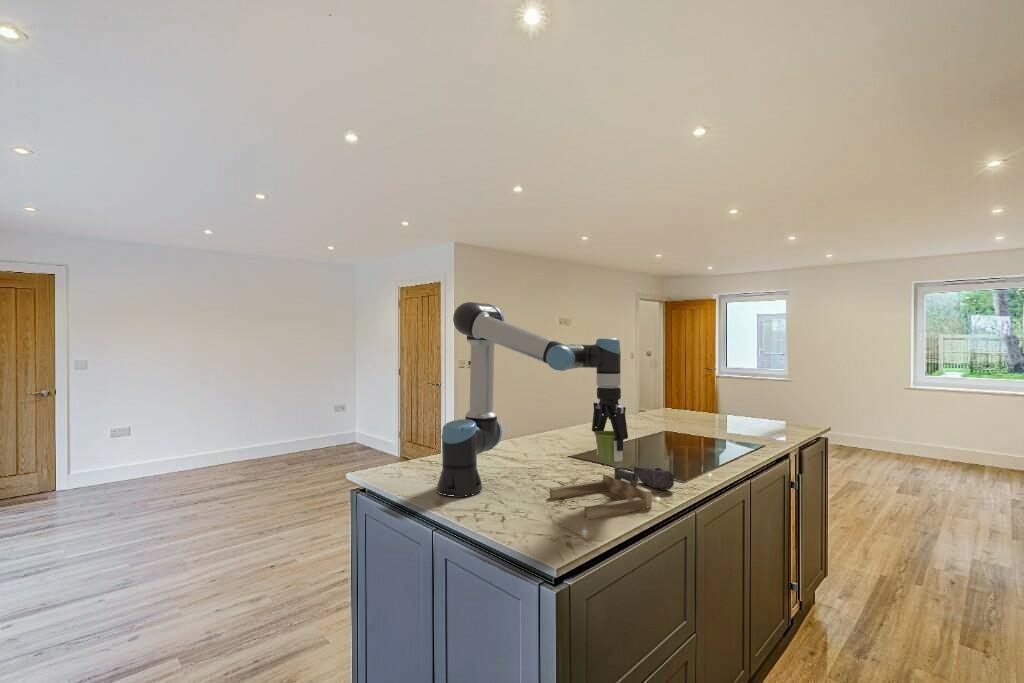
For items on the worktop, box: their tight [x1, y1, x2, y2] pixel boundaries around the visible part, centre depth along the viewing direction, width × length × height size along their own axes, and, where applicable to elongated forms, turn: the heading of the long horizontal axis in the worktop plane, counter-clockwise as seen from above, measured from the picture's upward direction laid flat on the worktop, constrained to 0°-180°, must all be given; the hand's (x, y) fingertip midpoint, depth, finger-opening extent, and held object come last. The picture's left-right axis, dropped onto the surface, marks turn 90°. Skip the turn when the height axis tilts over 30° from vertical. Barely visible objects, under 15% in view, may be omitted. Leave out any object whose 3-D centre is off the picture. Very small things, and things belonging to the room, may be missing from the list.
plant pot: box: [593, 430, 619, 463], centre depth 155 cm, size 9×9×9 cm
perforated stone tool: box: [638, 466, 675, 491], centre depth 169 cm, size 15×5×7 cm, turn 27°
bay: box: [549, 465, 653, 520], centre depth 153 cm, size 22×23×11 cm
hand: (609, 457), depth 155 cm, fingers closed on plant pot, 8 cm apart
